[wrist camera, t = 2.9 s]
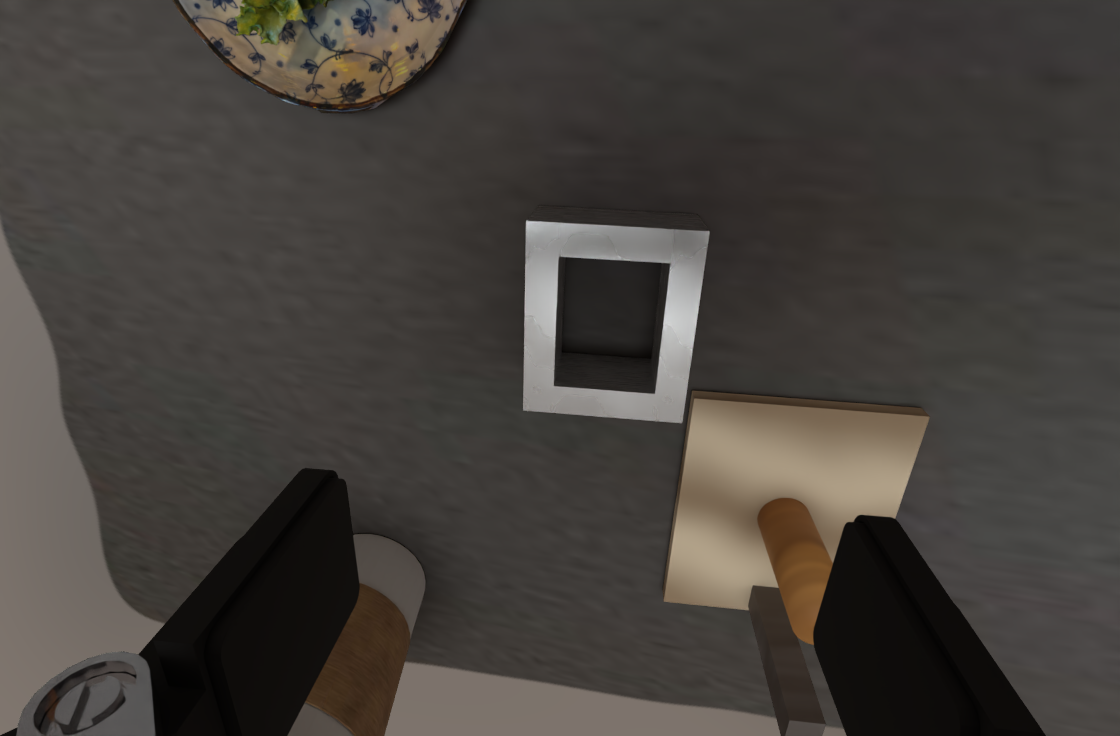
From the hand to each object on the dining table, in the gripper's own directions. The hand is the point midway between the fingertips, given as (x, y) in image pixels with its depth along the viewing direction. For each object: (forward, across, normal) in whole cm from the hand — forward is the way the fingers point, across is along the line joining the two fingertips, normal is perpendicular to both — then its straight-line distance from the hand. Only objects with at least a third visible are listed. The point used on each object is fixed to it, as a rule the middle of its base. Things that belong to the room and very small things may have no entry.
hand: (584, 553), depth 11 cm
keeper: (+16, -9, +10) cm, 21 cm away
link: (+16, 0, 0) cm, 16 cm away
